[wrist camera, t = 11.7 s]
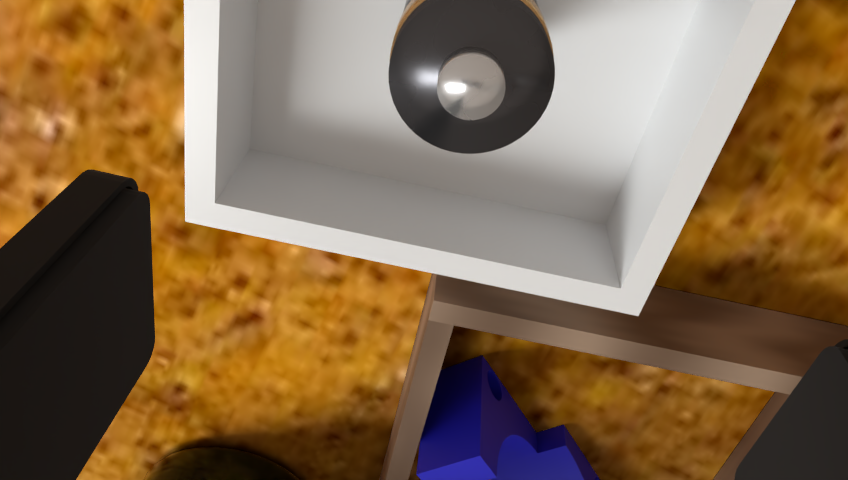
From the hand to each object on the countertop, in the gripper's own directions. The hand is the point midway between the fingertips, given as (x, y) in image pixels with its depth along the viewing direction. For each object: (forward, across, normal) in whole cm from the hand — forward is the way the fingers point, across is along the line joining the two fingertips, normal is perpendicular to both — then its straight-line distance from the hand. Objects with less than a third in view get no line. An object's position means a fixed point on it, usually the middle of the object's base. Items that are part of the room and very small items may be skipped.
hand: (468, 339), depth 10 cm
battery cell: (+16, +1, 0) cm, 16 cm away
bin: (+17, +1, 0) cm, 17 cm away
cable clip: (+18, -7, +21) cm, 28 cm away
